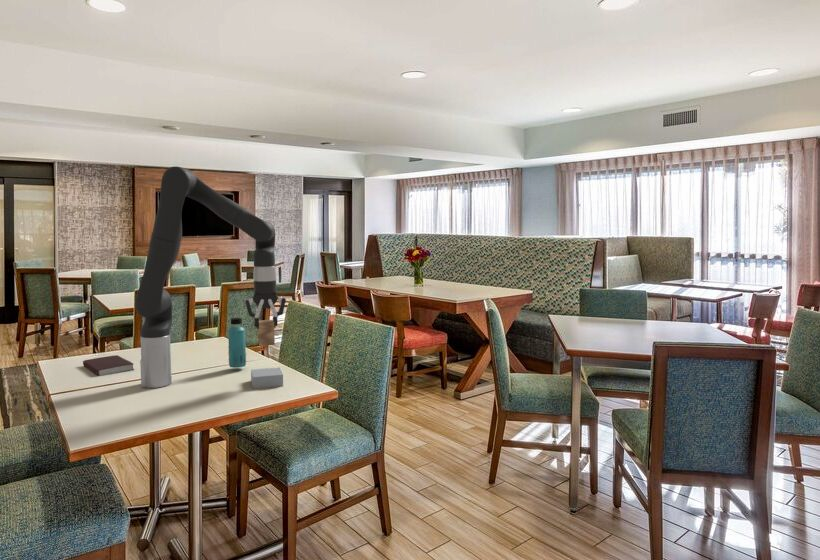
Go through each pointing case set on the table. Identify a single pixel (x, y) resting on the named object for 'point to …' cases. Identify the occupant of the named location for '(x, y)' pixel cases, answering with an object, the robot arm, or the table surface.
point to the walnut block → (266, 332)
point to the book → (108, 365)
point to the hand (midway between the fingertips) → (266, 327)
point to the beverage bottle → (236, 344)
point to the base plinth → (266, 377)
